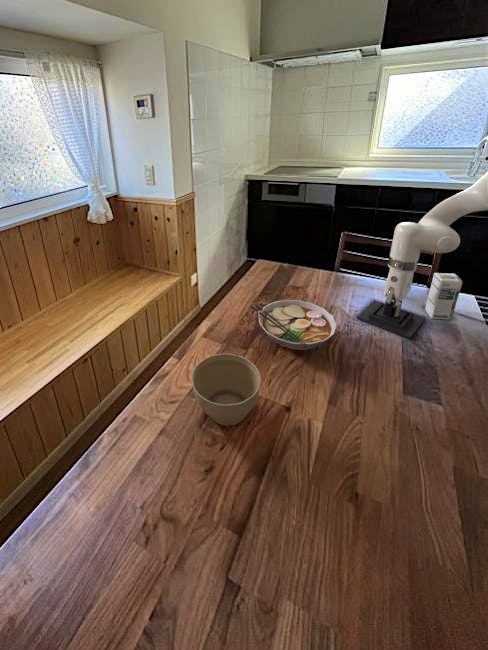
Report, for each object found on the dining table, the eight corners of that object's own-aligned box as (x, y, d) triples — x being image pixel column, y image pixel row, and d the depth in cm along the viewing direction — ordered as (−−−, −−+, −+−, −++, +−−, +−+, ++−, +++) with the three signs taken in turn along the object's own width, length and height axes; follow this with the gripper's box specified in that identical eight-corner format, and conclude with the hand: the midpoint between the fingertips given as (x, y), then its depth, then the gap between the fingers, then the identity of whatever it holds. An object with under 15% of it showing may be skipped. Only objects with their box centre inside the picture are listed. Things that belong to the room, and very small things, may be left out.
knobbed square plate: (406, 316, 111) (409, 301, 108) (398, 325, 106) (401, 310, 104) (383, 308, 115) (386, 294, 113) (375, 316, 111) (378, 302, 109)
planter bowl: (210, 377, 93) (208, 346, 89) (267, 397, 86) (269, 364, 81) (182, 423, 81) (178, 389, 76) (246, 450, 73) (247, 415, 69)
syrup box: (431, 319, 110) (442, 280, 104) (424, 309, 115) (434, 271, 109) (451, 320, 109) (463, 281, 103) (443, 310, 114) (454, 272, 108)
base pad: (425, 320, 110) (426, 314, 109) (409, 340, 102) (411, 334, 101) (373, 302, 121) (374, 297, 120) (356, 318, 113) (357, 313, 112)
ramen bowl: (353, 349, 100) (357, 327, 96) (293, 378, 91) (295, 354, 88) (295, 309, 120) (296, 289, 117) (241, 329, 112) (241, 308, 109)
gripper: (406, 276, 95) (394, 328, 103) (425, 257, 105) (413, 306, 113) (378, 268, 100) (368, 318, 108) (399, 250, 110) (389, 298, 118)
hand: (391, 312), depth 110 cm, fingers closed on knobbed square plate, 4 cm apart
